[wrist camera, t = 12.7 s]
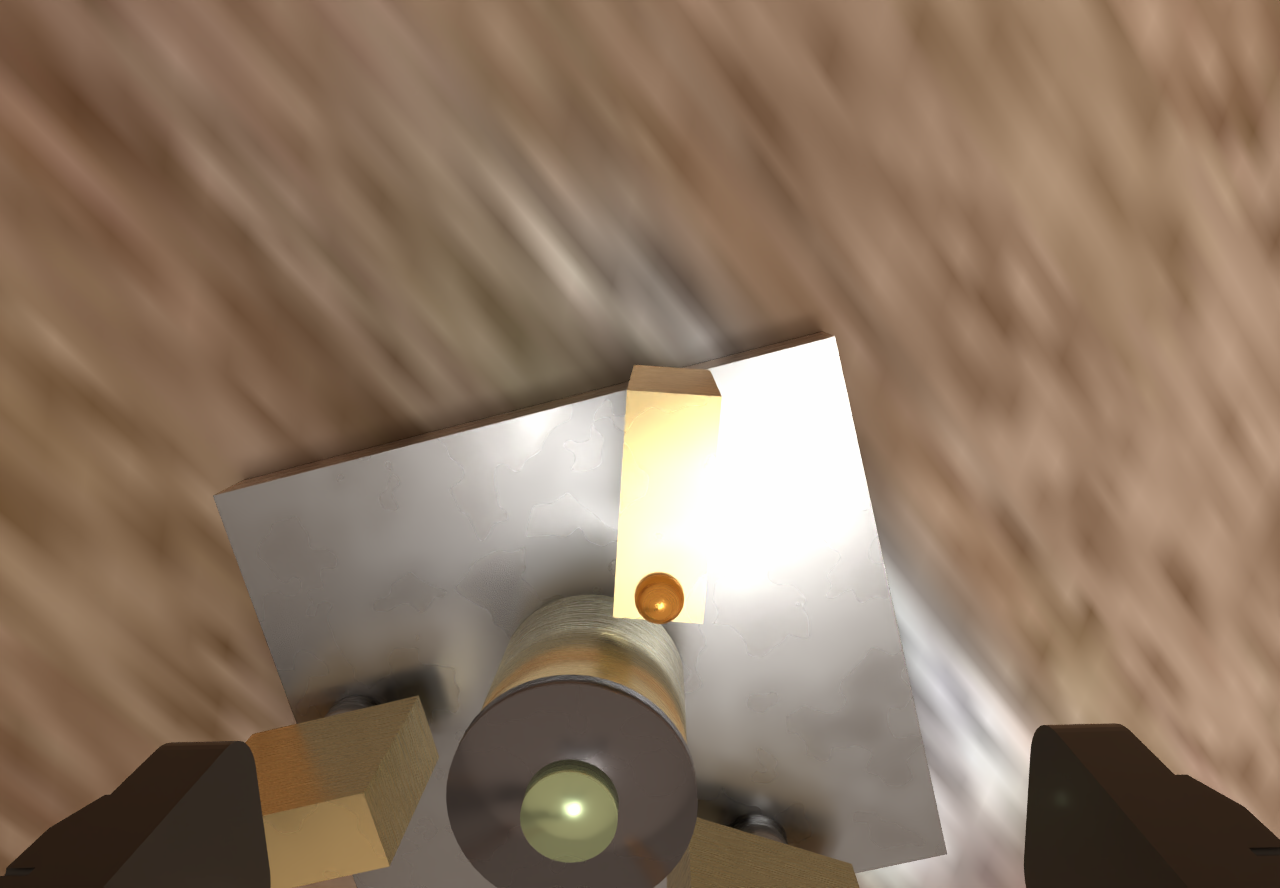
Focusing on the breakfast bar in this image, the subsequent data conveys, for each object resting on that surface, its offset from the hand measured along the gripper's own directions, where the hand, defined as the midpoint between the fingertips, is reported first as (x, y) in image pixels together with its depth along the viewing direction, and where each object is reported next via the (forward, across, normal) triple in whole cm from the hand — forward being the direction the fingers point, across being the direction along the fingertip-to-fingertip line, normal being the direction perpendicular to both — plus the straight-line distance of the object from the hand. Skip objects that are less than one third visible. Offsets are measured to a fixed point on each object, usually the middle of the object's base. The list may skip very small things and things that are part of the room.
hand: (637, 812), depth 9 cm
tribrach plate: (+20, +2, +8) cm, 22 cm away
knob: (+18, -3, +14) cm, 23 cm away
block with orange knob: (+18, +10, +9) cm, 23 cm away
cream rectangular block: (+18, 0, 0) cm, 18 cm away
